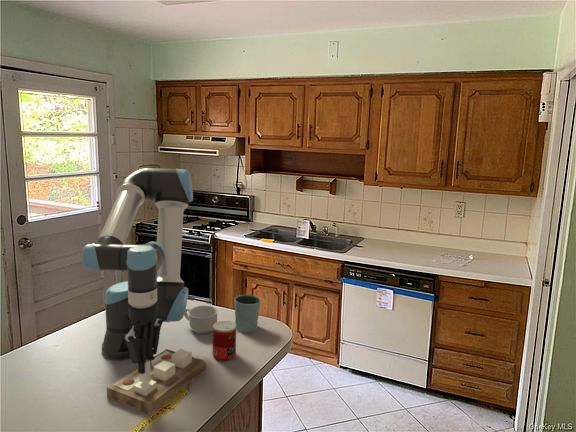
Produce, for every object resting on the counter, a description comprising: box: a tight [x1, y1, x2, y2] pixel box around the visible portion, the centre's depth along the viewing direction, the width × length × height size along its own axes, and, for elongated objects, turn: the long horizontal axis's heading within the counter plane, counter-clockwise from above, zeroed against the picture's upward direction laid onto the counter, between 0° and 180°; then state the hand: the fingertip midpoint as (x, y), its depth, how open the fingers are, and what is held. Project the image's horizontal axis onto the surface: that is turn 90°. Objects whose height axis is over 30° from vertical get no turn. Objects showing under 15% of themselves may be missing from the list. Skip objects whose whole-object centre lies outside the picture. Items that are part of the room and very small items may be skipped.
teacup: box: [183, 304, 218, 335], centre depth 164 cm, size 14×11×8 cm
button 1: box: [133, 380, 157, 396], centre depth 121 cm, size 4×4×4 cm
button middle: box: [153, 360, 175, 382], centre depth 128 cm, size 4×4×4 cm
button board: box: [106, 348, 207, 415], centre depth 129 cm, size 16×25×3 cm, turn 155°
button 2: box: [172, 348, 193, 369], centre depth 135 cm, size 4×4×4 cm
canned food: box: [212, 320, 237, 362], centre depth 145 cm, size 8×8×11 cm
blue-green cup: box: [233, 294, 261, 334], centre depth 167 cm, size 10×10×12 cm
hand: (145, 381), depth 120 cm, fingers closed
